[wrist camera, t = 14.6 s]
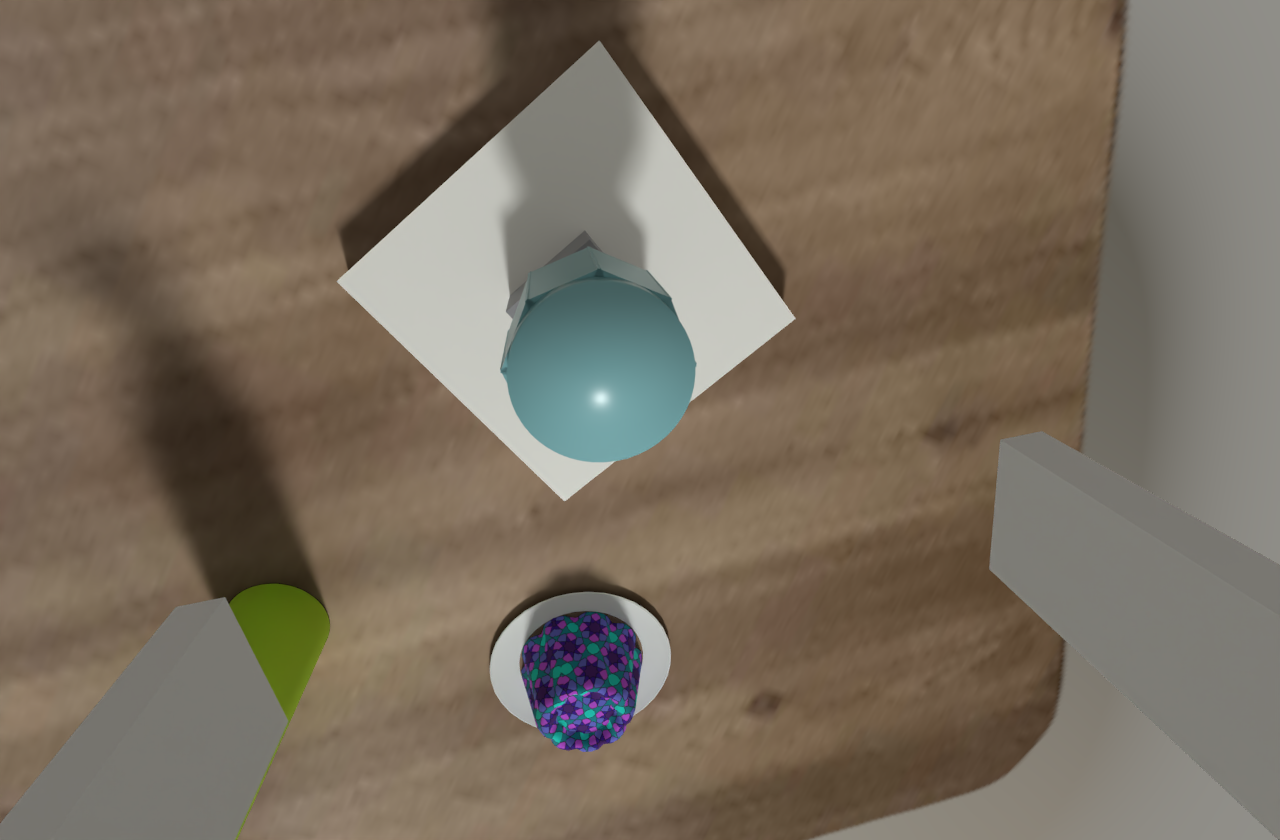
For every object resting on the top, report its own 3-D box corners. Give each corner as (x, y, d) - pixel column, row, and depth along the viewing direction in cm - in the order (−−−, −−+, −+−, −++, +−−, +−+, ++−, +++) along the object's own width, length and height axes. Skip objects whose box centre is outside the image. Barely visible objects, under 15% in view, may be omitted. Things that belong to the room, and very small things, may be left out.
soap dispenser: (224, 563, 37) (-93, 969, 18) (344, 603, 39) (166, 1003, 21) (193, 638, 38) (-129, 1081, 20) (310, 672, 40) (115, 1102, 22)
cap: (630, 418, 28) (651, 485, 22) (493, 371, 26) (479, 430, 21) (688, 286, 26) (727, 324, 20) (544, 227, 24) (544, 249, 19)
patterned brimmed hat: (624, 555, 41) (634, 609, 36) (695, 679, 45) (713, 741, 41) (455, 634, 41) (444, 697, 36) (543, 748, 46) (543, 817, 41)
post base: (348, 273, 32) (311, 296, 27) (595, 47, 29) (606, 25, 24) (563, 484, 38) (566, 535, 33) (782, 310, 35) (821, 336, 30)
